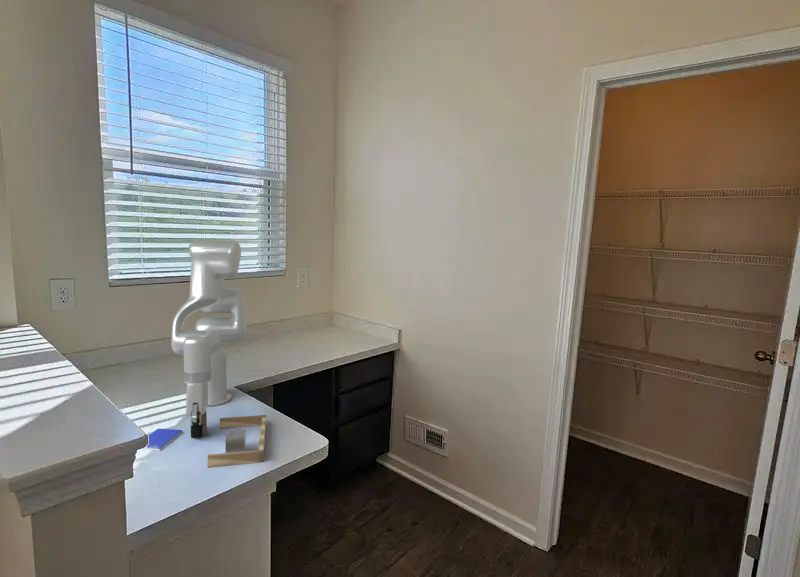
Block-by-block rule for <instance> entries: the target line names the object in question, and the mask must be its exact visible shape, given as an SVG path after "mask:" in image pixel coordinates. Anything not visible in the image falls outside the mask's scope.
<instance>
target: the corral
mask: <svg viewBox="0 0 800 577" xmlns="http://www.w3.org/2000/svg"><path fill="white" fill-rule="evenodd" d="M257 426H260V433H259V446H258V449H256V450H255V449H254V450H245V451H243V452H232V453H226V452H223V453H222V452H221V453H212V454H208V455H207V468H216V467H217V468H218V467H226V466H236V465H237V466H238V465H245V464H246V465H247V464H248V465H249V464H255V463H264V459H265V458H264V456H265V444H266V432H267V431H266V428H267V414H260V415H245V416H230V417H220V418H219V429H221V430H222V429H231V428H243V427H257Z"/></svg>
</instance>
